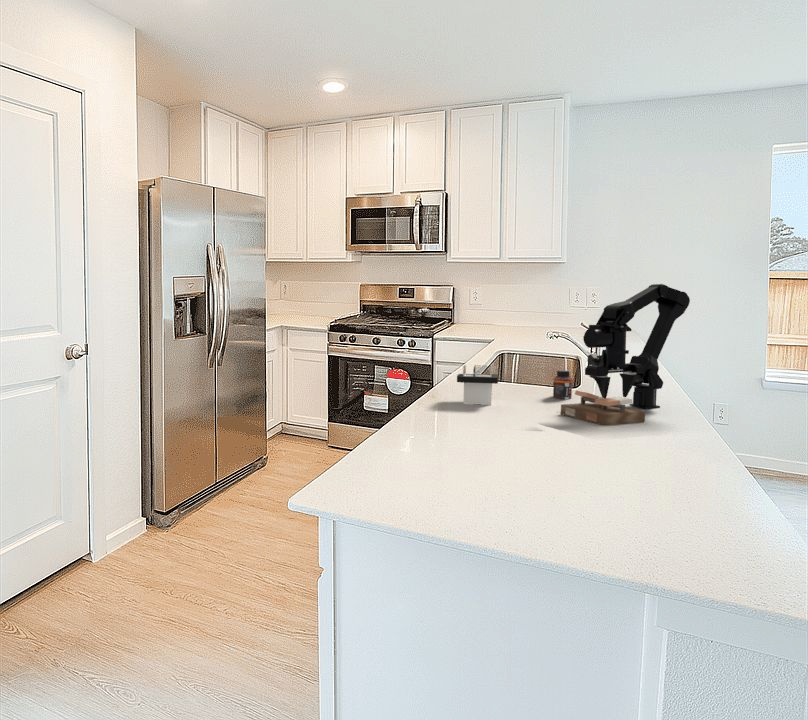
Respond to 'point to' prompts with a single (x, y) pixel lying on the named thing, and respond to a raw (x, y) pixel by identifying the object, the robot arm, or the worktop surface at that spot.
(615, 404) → the block
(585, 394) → the rocker
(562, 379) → the supplement bottle
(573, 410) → the switch unit
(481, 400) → the white and black block
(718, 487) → the worktop surface
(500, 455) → the worktop surface
